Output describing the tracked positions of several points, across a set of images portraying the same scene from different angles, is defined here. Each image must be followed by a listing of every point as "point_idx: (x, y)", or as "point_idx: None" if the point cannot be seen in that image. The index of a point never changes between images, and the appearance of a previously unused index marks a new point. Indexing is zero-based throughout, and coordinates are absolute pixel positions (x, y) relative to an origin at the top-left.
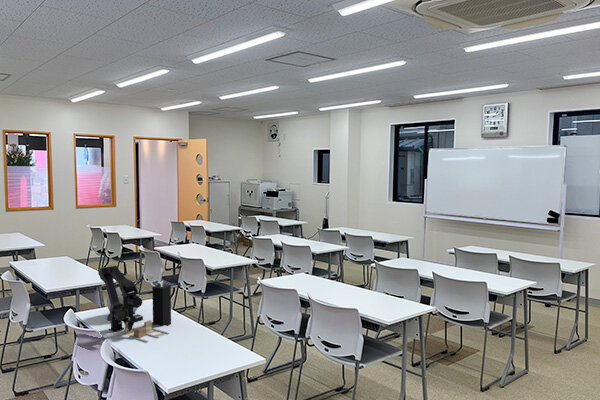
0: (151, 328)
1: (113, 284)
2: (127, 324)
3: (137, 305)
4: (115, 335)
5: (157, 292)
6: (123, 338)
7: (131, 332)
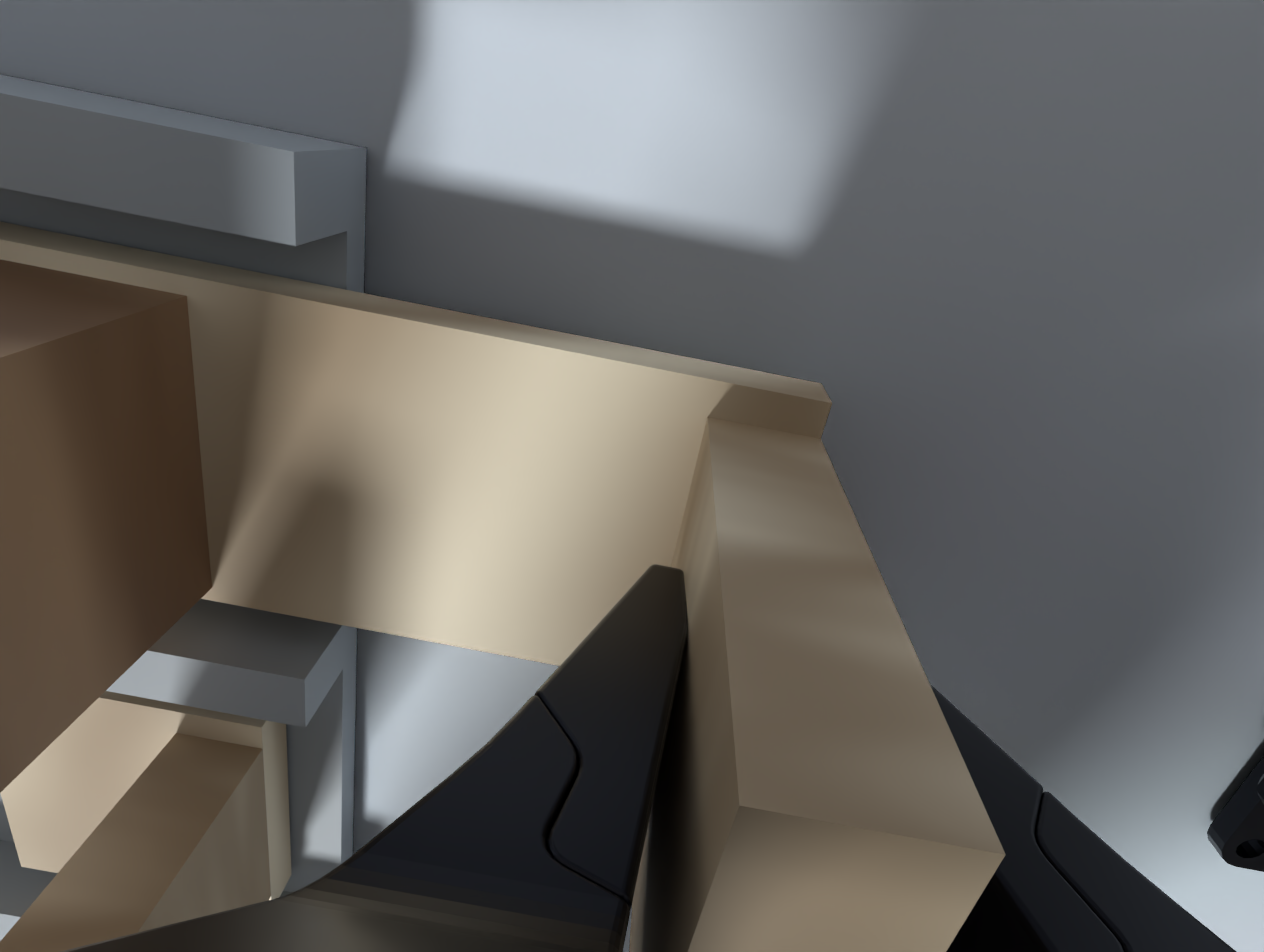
0: None
1: None
2: (706, 797)
3: None
4: (1234, 305)
5: None
6: (678, 157)
7: None
